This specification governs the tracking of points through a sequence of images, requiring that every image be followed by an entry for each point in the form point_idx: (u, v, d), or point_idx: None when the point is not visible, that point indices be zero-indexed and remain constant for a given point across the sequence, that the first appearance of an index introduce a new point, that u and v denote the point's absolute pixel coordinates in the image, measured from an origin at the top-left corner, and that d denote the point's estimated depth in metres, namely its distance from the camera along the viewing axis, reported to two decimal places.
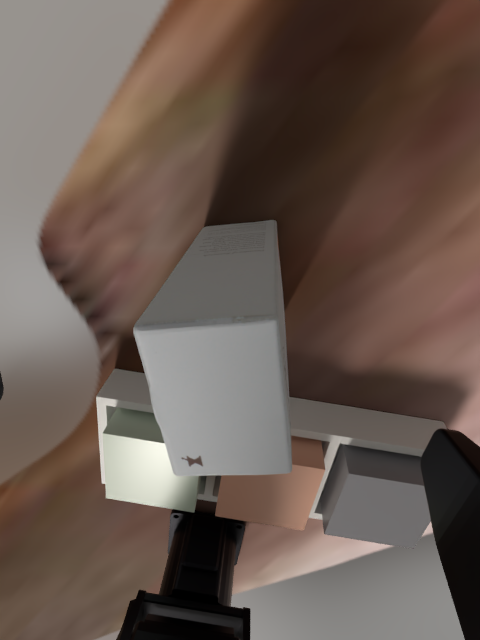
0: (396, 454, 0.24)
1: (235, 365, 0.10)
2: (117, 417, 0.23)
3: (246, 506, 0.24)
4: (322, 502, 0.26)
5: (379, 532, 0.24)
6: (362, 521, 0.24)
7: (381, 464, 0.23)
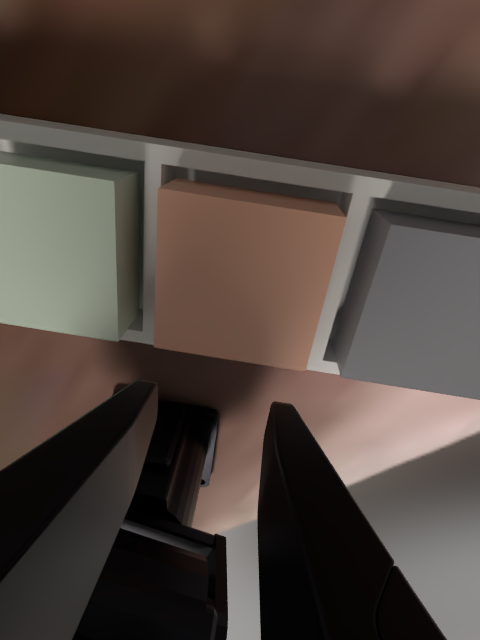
0: (469, 225, 0.13)
1: None
2: None
3: (205, 321, 0.14)
4: (336, 340, 0.16)
5: (437, 368, 0.14)
6: (408, 345, 0.14)
7: (447, 226, 0.13)
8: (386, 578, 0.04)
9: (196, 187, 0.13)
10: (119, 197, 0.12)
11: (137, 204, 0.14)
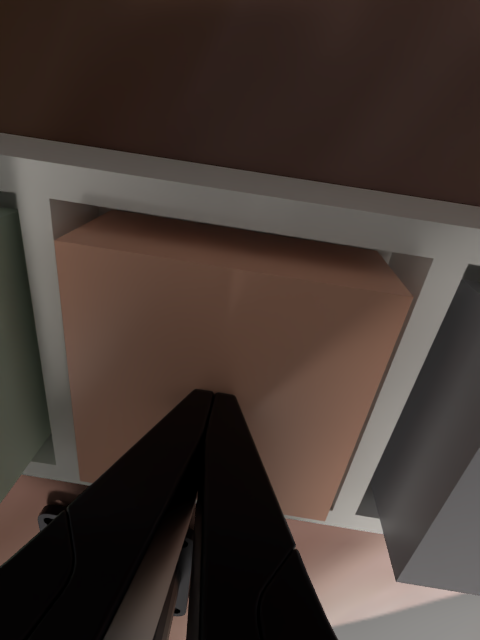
0: None
1: None
2: None
3: None
4: (379, 486, 0.09)
5: None
6: None
7: None
8: (281, 560, 0.04)
9: (137, 231, 0.07)
10: None
11: (22, 268, 0.08)
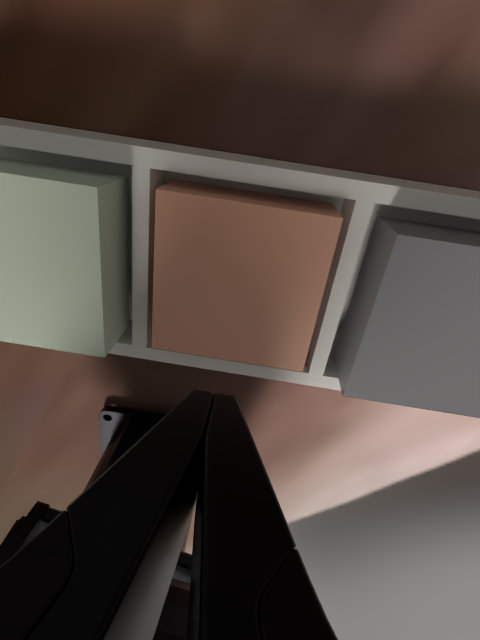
0: None
1: None
2: None
3: (203, 321, 0.14)
4: (337, 355, 0.15)
5: (446, 386, 0.13)
6: (415, 362, 0.13)
7: (457, 236, 0.12)
8: (281, 561, 0.04)
9: (194, 188, 0.13)
10: (104, 204, 0.11)
11: (125, 211, 0.13)
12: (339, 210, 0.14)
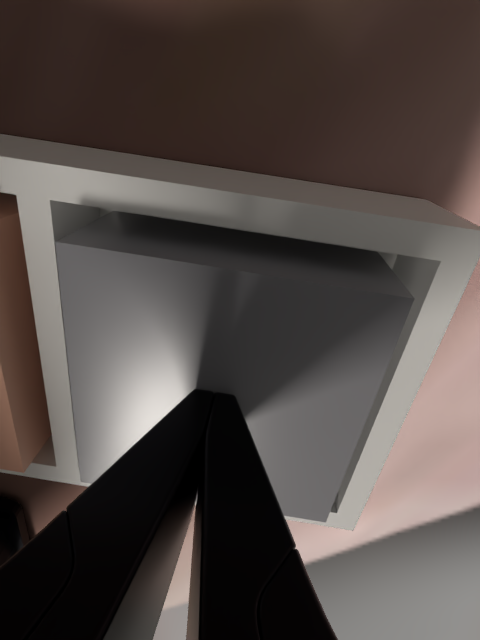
0: (265, 238, 0.08)
1: None
2: None
3: None
4: None
5: None
6: None
7: (199, 243, 0.07)
8: (281, 560, 0.04)
9: None
10: None
11: None
12: None
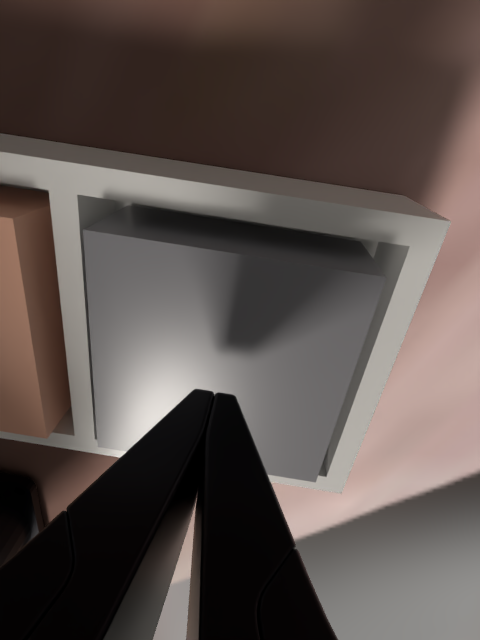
0: (261, 229, 0.09)
1: None
2: None
3: None
4: None
5: None
6: (173, 406, 0.09)
7: (204, 232, 0.08)
8: (281, 560, 0.04)
9: None
10: None
11: None
12: None
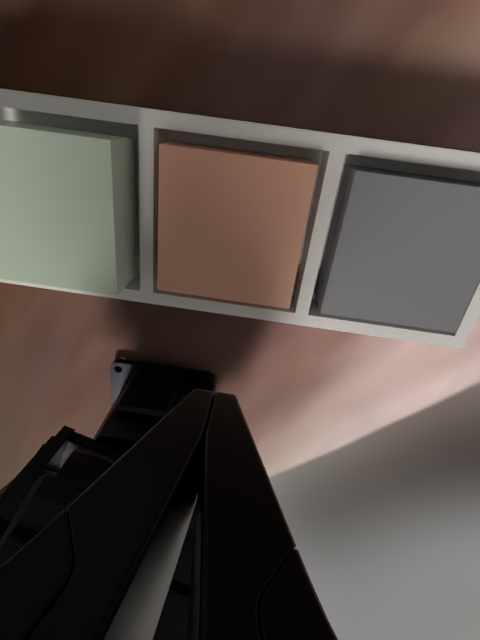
0: (428, 176, 0.16)
1: None
2: None
3: (201, 264, 0.16)
4: (317, 286, 0.18)
5: (403, 301, 0.16)
6: (377, 281, 0.16)
7: (406, 175, 0.15)
8: (282, 560, 0.04)
9: (191, 145, 0.15)
10: (115, 156, 0.14)
11: (133, 168, 0.15)
12: (319, 166, 0.16)
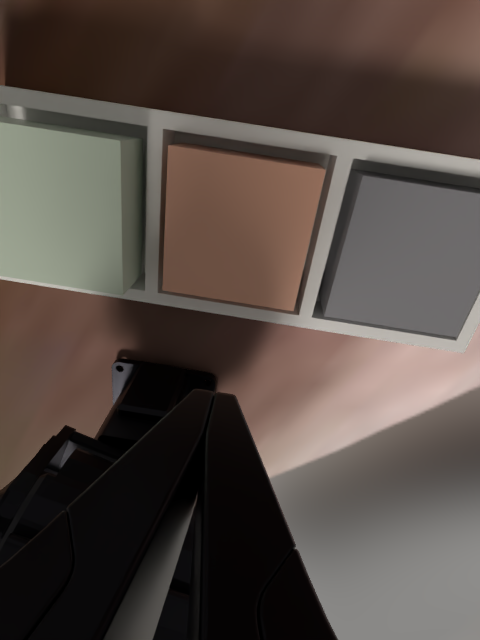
0: (433, 182, 0.16)
1: None
2: None
3: (207, 265, 0.16)
4: (321, 289, 0.18)
5: (406, 305, 0.16)
6: (381, 285, 0.16)
7: (412, 180, 0.15)
8: (281, 561, 0.04)
9: (200, 147, 0.15)
10: (124, 157, 0.14)
11: (140, 168, 0.15)
12: None
